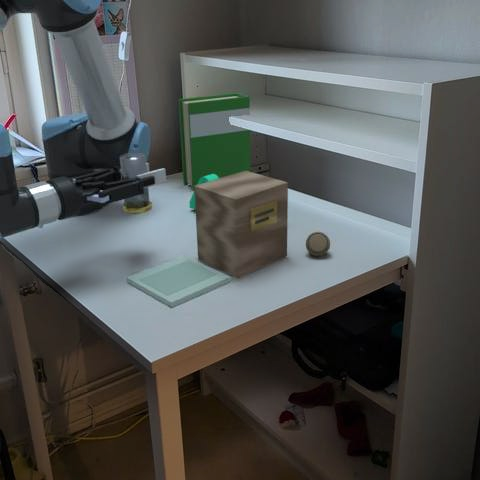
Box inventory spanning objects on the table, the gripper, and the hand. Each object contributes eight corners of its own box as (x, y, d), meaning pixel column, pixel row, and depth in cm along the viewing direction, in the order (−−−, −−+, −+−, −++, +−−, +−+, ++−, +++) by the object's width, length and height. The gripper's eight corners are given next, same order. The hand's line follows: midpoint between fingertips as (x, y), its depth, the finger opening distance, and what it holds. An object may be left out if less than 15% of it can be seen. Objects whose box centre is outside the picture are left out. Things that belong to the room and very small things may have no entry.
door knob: (300, 254, 126) (301, 232, 124) (318, 248, 129) (318, 226, 127) (316, 262, 123) (317, 239, 121) (334, 255, 125) (335, 233, 123)
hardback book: (193, 191, 165) (189, 103, 156) (183, 184, 172) (178, 99, 162) (250, 181, 173) (249, 96, 163) (238, 175, 179) (237, 92, 169)
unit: (198, 259, 125) (194, 185, 118) (246, 240, 133) (245, 170, 127) (239, 278, 116) (238, 200, 110) (289, 257, 125) (289, 183, 119)
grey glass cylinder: (117, 209, 123) (111, 156, 119) (141, 201, 127) (136, 150, 122) (133, 216, 119) (128, 162, 115) (157, 208, 123) (153, 156, 118)
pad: (127, 282, 116) (126, 277, 116) (184, 259, 125) (184, 255, 124) (171, 307, 107) (171, 302, 106) (230, 281, 115) (230, 276, 115)
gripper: (32, 208, 117) (133, 180, 131) (79, 233, 105) (184, 199, 119) (25, 171, 114) (129, 146, 128) (73, 192, 102) (182, 162, 116)
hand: (156, 172), depth 124 cm, fingers closed on grey glass cylinder, 5 cm apart
